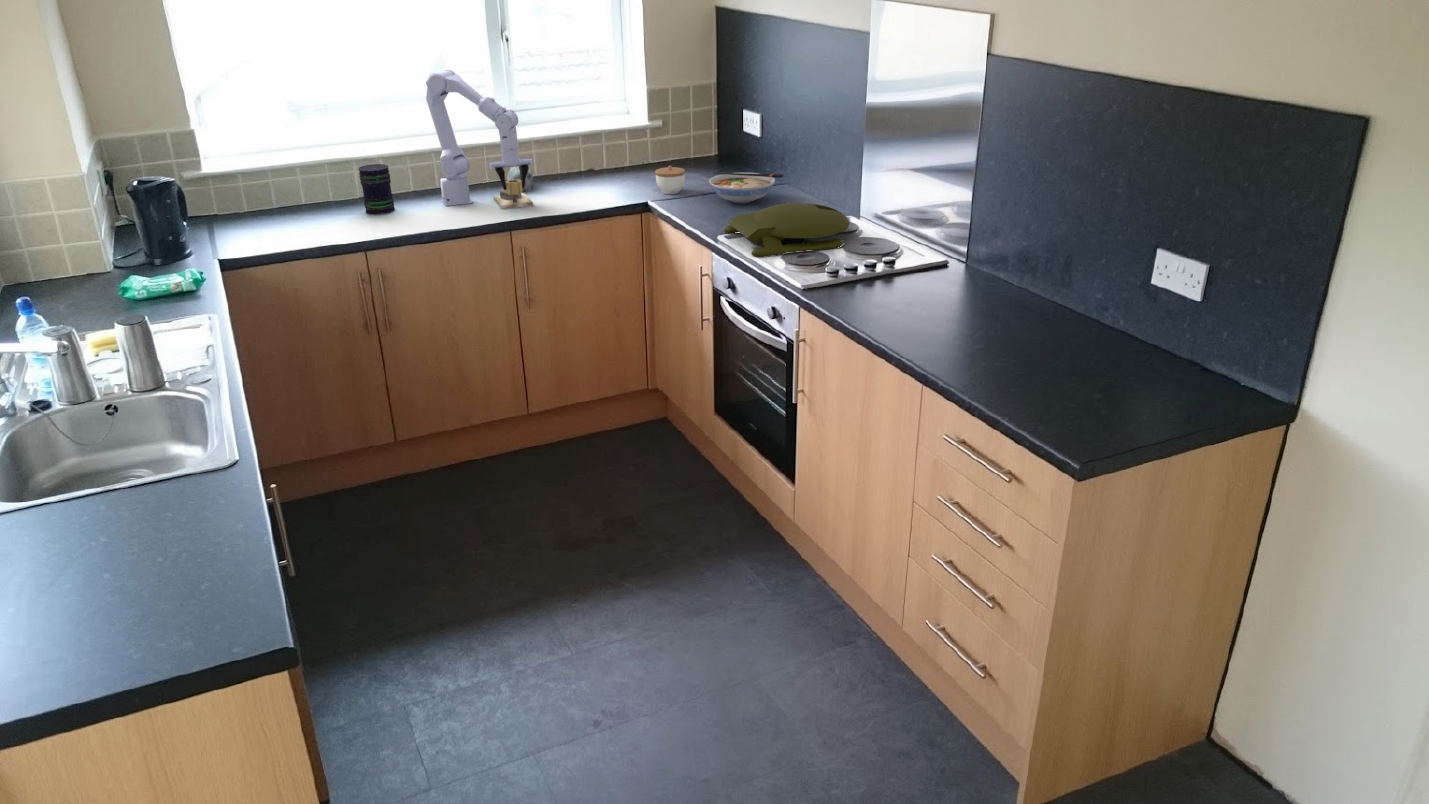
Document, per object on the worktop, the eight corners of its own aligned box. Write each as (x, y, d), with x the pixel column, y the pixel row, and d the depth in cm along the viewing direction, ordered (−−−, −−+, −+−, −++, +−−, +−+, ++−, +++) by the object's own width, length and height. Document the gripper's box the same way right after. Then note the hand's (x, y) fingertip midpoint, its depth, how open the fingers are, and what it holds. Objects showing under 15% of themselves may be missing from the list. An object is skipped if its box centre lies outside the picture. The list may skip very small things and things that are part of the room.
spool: (539, 183, 372) (524, 158, 369) (517, 197, 371) (501, 172, 369) (538, 183, 385) (523, 160, 382) (517, 197, 384) (502, 173, 382)
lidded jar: (675, 197, 363) (674, 170, 359) (650, 193, 368) (648, 167, 364) (691, 190, 371) (690, 164, 367) (666, 187, 376) (665, 161, 372)
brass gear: (507, 195, 351) (506, 183, 350) (504, 191, 356) (503, 180, 354) (523, 193, 353) (522, 182, 351) (521, 190, 358) (519, 178, 356)
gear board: (501, 209, 352) (499, 196, 350) (493, 199, 364) (492, 187, 362) (533, 205, 356) (531, 192, 354) (524, 196, 368) (523, 183, 366)
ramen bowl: (697, 207, 350) (696, 183, 347) (718, 191, 370) (718, 168, 366) (767, 212, 343) (767, 187, 339) (785, 195, 362) (786, 172, 359)
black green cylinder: (386, 215, 348) (379, 171, 341) (360, 214, 350) (352, 170, 343) (400, 207, 357) (393, 164, 350) (374, 206, 359) (367, 163, 352)
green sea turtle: (754, 260, 297) (754, 226, 293) (721, 232, 324) (721, 201, 320) (865, 247, 307) (867, 214, 302) (824, 221, 333) (825, 190, 329)
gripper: (490, 152, 342) (494, 192, 348) (533, 148, 347) (537, 188, 353) (486, 148, 348) (491, 188, 354) (528, 144, 353) (532, 183, 359)
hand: (513, 188), depth 354 cm, fingers closed on brass gear, 6 cm apart
